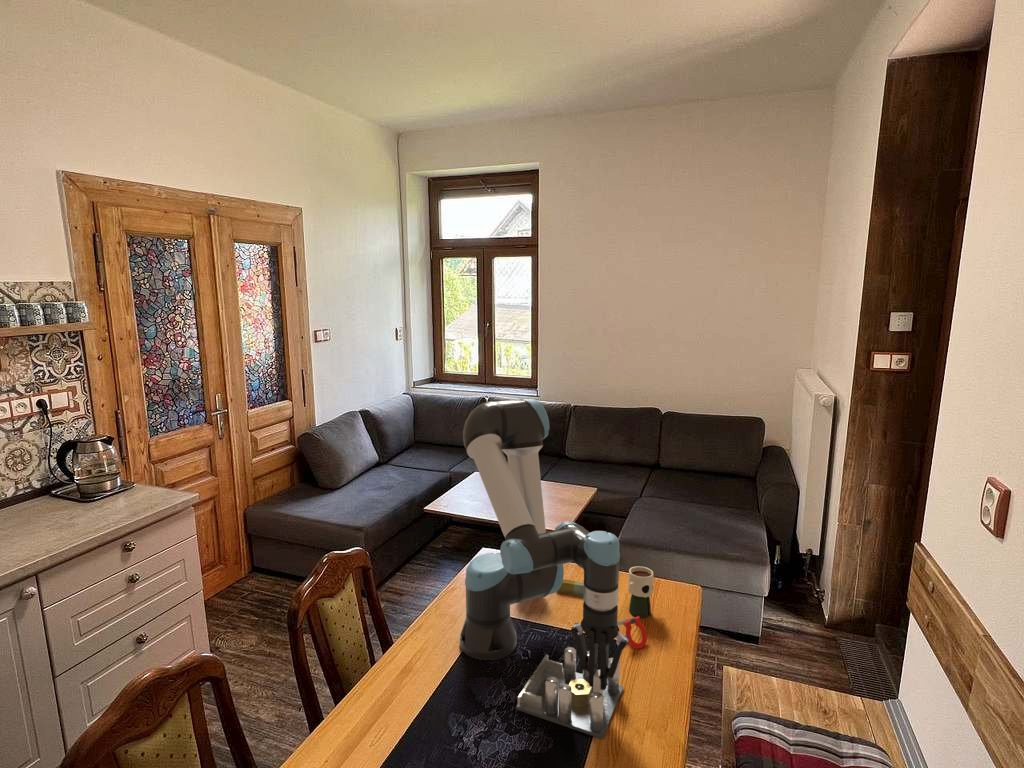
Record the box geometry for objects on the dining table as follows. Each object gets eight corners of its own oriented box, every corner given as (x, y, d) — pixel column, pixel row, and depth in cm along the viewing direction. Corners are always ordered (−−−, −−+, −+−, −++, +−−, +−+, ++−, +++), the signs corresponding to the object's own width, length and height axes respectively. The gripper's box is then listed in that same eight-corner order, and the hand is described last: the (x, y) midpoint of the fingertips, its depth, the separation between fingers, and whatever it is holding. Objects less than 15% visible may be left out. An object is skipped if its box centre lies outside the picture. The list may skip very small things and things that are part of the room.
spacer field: (516, 709, 126) (516, 677, 125) (545, 665, 141) (545, 637, 140) (602, 739, 117) (603, 705, 116) (623, 689, 132) (624, 659, 131)
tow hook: (633, 651, 146) (623, 622, 148) (609, 654, 154) (600, 626, 156) (651, 643, 149) (641, 614, 152) (627, 645, 157) (618, 618, 160)
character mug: (639, 625, 159) (640, 582, 157) (618, 615, 164) (619, 573, 162) (660, 611, 166) (662, 570, 164) (640, 601, 171) (641, 561, 169)
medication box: (594, 596, 175) (595, 584, 174) (593, 600, 172) (593, 587, 172) (556, 589, 178) (557, 577, 178) (555, 593, 176) (555, 580, 175)
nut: (564, 703, 127) (565, 691, 126) (573, 687, 132) (573, 676, 131) (586, 710, 124) (586, 698, 124) (593, 694, 130) (594, 682, 129)
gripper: (566, 604, 122) (564, 701, 126) (625, 618, 117) (622, 720, 120) (577, 588, 129) (575, 681, 132) (634, 601, 123) (630, 697, 127)
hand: (597, 699), depth 126 cm, fingers closed
